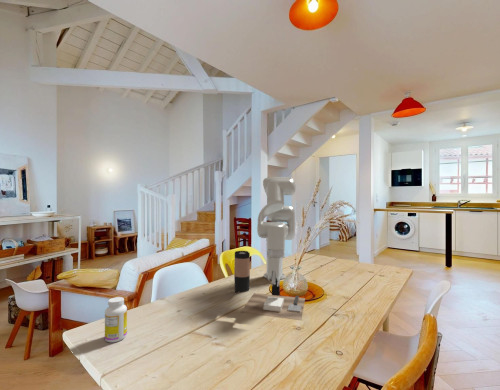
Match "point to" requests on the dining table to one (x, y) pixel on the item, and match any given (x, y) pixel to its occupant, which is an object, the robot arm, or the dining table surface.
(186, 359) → the dining table surface
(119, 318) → the supplement bottle
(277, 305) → the tile
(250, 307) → the board
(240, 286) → the travel mug
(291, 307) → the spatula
